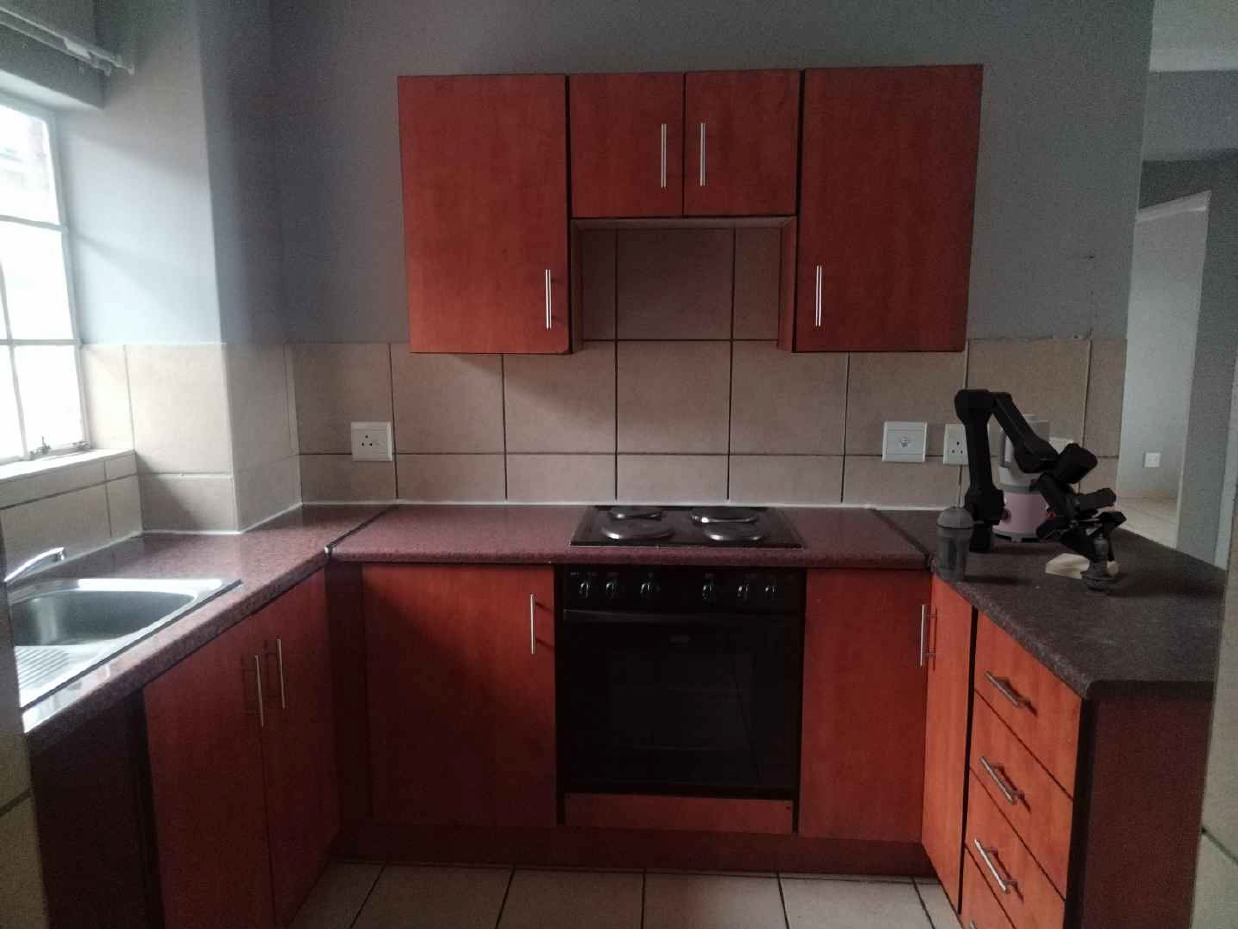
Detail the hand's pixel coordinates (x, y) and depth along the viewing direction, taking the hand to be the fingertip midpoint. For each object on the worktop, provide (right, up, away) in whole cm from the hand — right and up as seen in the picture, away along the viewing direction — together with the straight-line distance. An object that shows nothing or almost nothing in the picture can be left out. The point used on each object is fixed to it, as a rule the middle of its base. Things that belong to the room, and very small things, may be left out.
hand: (1105, 561), depth 147 cm
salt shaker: (0, -7, +2) cm, 7 cm away
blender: (+7, 0, +47) cm, 47 cm away
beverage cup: (-25, -5, +12) cm, 28 cm away
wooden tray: (+5, -4, +15) cm, 17 cm away
